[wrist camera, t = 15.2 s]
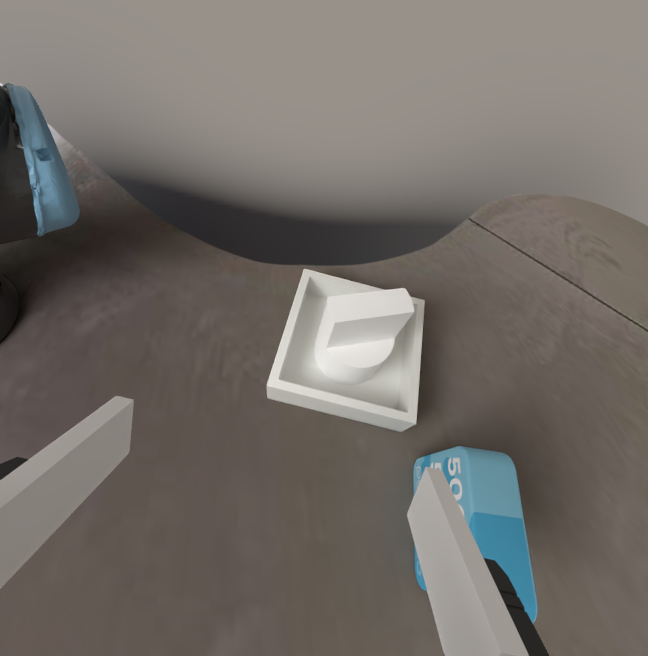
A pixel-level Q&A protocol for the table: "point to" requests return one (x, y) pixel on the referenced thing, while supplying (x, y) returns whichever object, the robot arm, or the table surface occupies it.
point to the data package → (488, 512)
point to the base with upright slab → (360, 333)
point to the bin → (339, 399)
